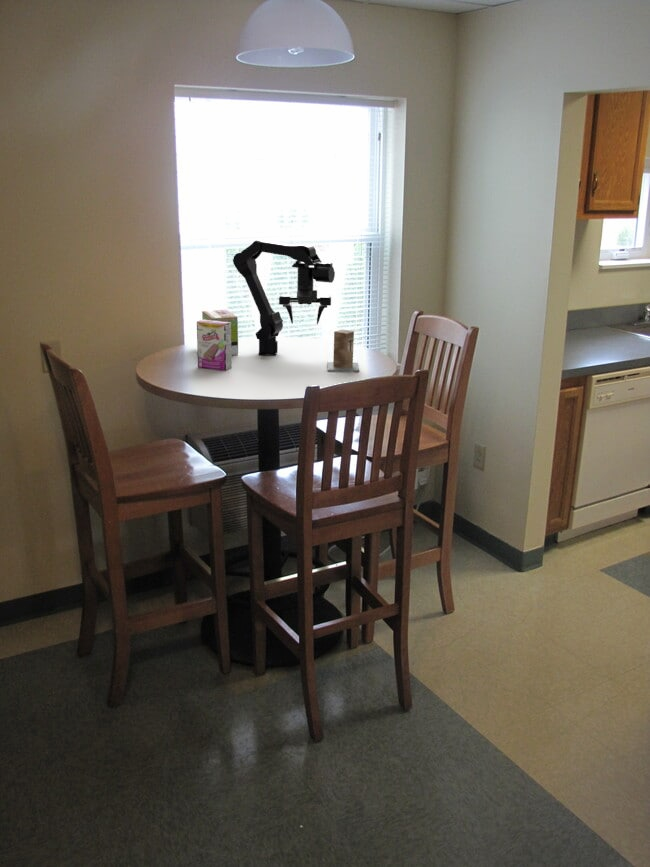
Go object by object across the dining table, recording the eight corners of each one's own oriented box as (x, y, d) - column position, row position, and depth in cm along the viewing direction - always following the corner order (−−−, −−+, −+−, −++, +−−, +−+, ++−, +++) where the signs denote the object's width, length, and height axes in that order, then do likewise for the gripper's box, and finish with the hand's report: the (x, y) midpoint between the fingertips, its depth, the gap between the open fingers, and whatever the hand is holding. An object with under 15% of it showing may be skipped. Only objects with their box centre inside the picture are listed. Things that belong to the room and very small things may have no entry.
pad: (327, 371, 266) (327, 369, 266) (327, 363, 276) (327, 362, 276) (359, 372, 266) (359, 370, 266) (357, 364, 276) (357, 362, 276)
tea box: (202, 348, 295) (201, 310, 290) (227, 346, 298) (227, 308, 294) (213, 357, 282) (212, 317, 277) (239, 355, 286) (238, 315, 281)
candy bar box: (197, 368, 266) (195, 321, 261) (203, 364, 270) (202, 318, 265) (226, 371, 263) (225, 324, 257) (232, 368, 267) (231, 321, 262)
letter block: (333, 366, 270) (334, 331, 266) (340, 363, 274) (341, 329, 270) (346, 368, 267) (347, 333, 263) (353, 366, 271) (355, 331, 267)
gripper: (278, 283, 266) (278, 327, 271) (331, 284, 266) (330, 328, 271) (279, 278, 276) (279, 321, 281) (331, 279, 277) (330, 322, 282)
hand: (304, 323), depth 279 cm, fingers open, 9 cm apart
